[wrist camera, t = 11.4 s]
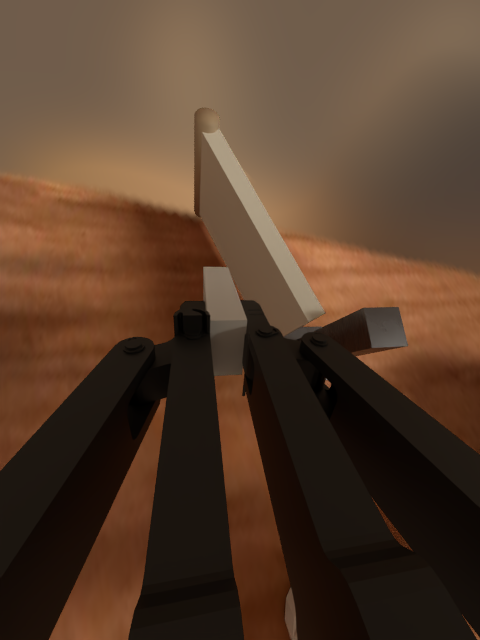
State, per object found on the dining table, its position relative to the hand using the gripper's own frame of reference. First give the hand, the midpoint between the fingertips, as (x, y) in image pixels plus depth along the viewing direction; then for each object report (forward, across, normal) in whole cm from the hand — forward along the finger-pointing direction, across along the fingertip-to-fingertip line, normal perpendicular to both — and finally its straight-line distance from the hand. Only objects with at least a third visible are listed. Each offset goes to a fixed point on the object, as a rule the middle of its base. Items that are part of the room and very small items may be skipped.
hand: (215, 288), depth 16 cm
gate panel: (+13, +3, -3) cm, 14 cm away
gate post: (+7, +10, -11) cm, 16 cm away
